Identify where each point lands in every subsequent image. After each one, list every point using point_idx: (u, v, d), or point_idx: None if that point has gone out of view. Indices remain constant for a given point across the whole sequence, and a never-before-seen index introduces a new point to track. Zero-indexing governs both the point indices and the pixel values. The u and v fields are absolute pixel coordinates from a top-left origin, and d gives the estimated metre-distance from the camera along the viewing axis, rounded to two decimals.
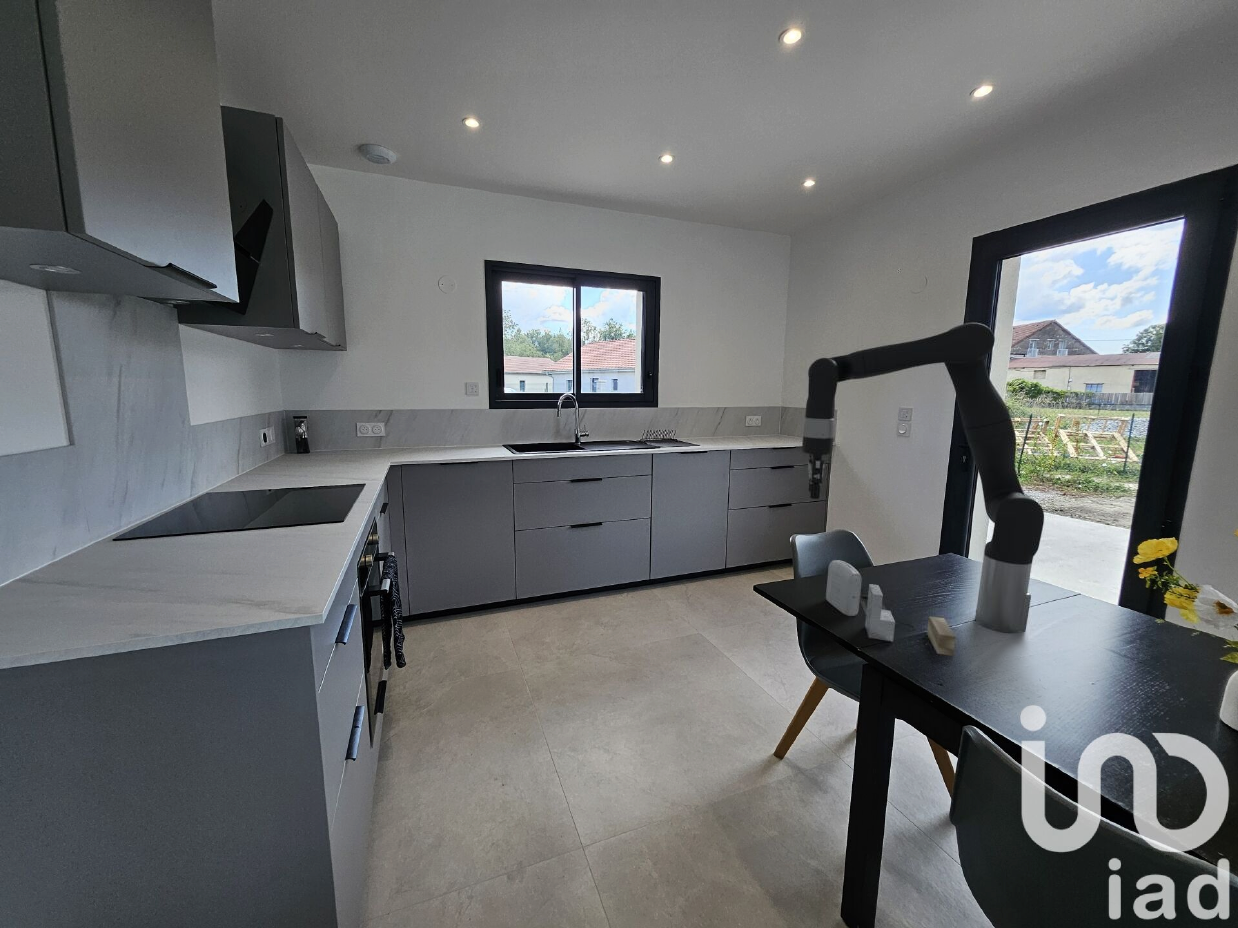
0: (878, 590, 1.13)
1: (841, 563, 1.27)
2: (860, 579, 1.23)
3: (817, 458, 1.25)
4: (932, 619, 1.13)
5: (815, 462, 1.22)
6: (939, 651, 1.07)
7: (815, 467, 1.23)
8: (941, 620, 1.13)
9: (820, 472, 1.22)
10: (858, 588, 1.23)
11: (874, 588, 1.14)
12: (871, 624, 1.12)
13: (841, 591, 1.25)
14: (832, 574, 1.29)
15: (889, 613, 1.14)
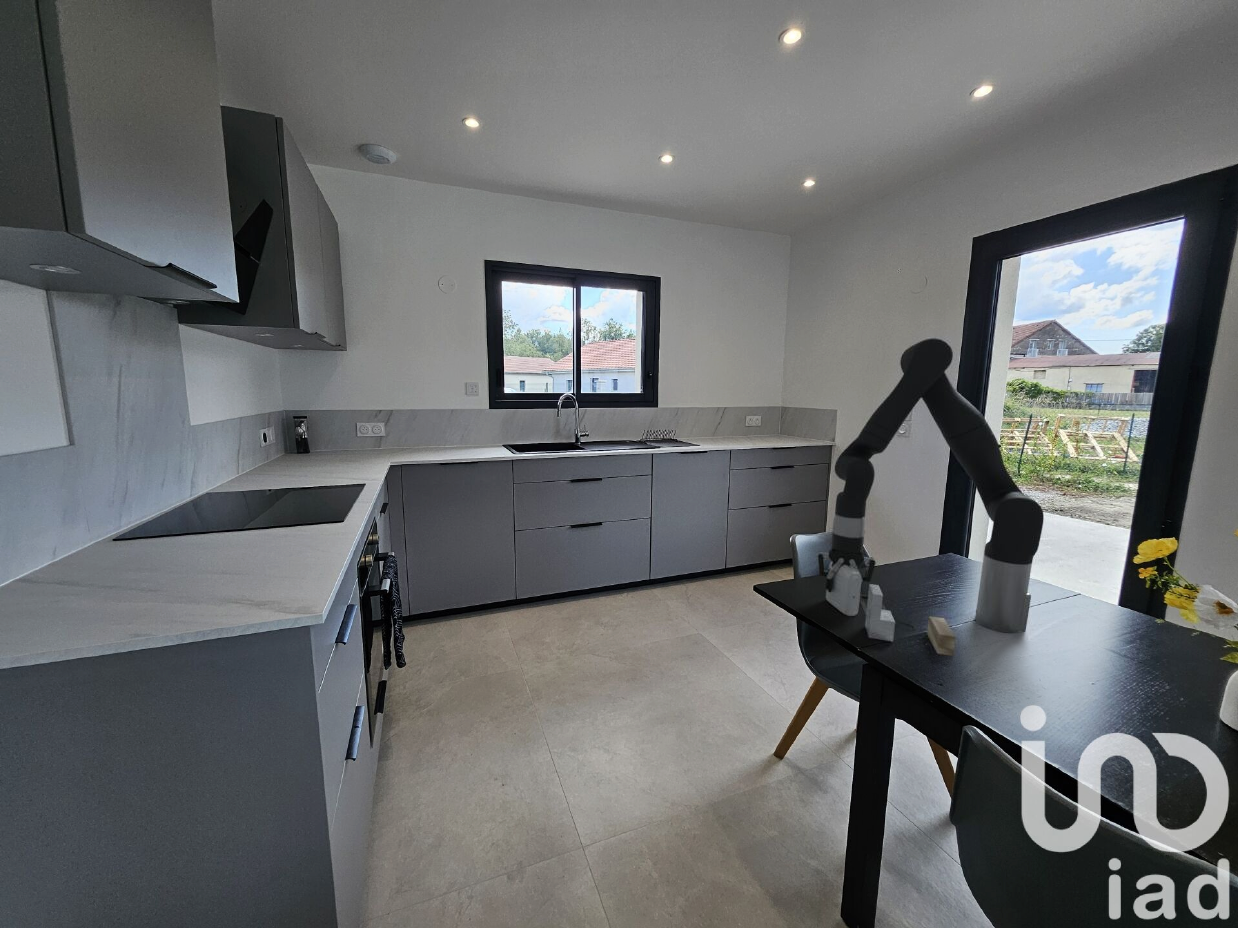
0: (878, 590, 1.13)
1: None
2: (860, 579, 1.23)
3: None
4: (932, 619, 1.13)
5: (875, 562, 1.24)
6: (939, 651, 1.07)
7: None
8: (941, 620, 1.13)
9: None
10: (858, 588, 1.23)
11: (874, 588, 1.14)
12: (871, 624, 1.12)
13: (841, 590, 1.25)
14: None
15: (889, 613, 1.14)
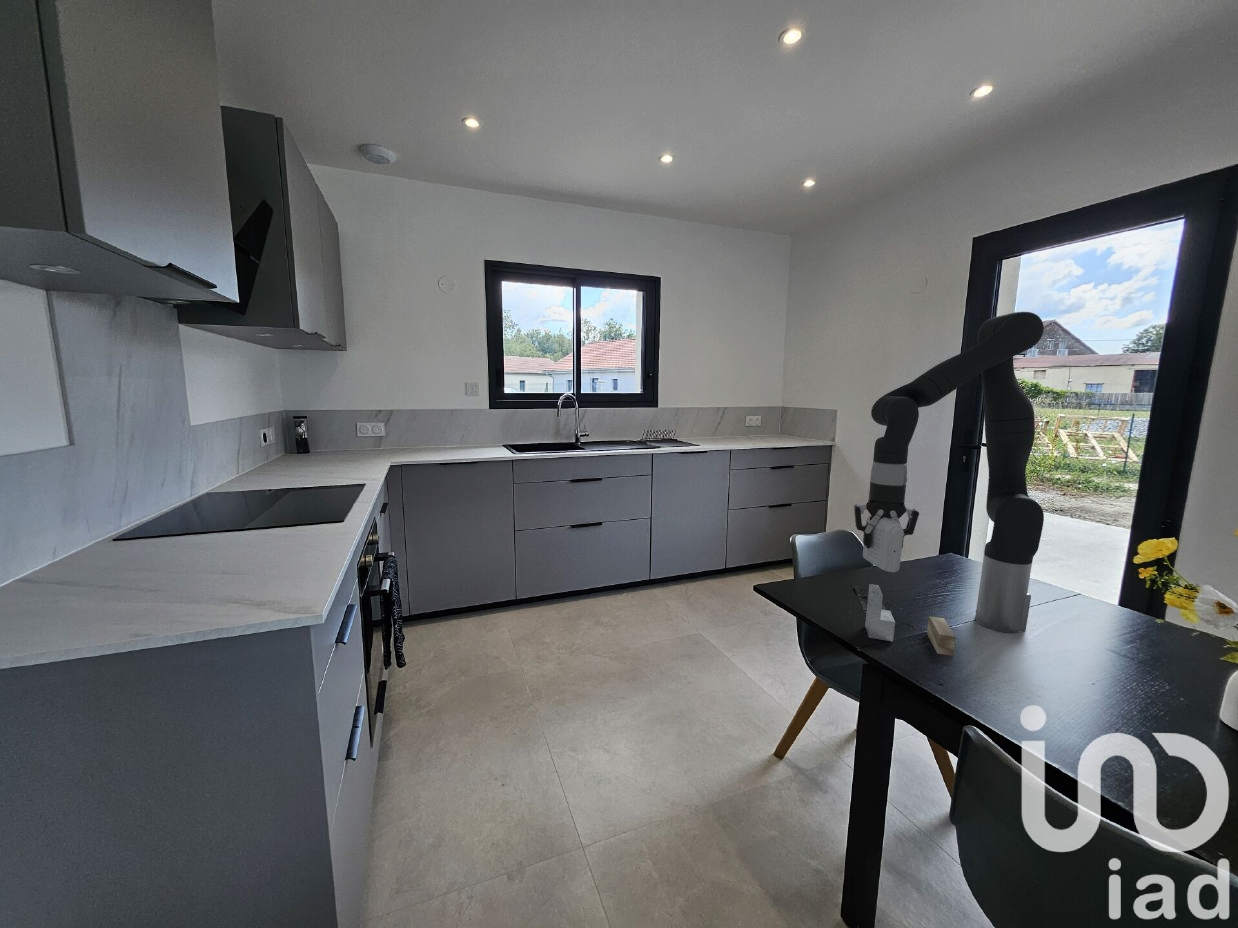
0: (878, 590, 1.13)
1: None
2: (902, 531, 1.12)
3: None
4: (932, 619, 1.13)
5: None
6: (939, 651, 1.07)
7: None
8: (941, 620, 1.13)
9: None
10: (899, 541, 1.12)
11: (874, 588, 1.14)
12: (871, 624, 1.12)
13: (880, 545, 1.15)
14: None
15: (889, 613, 1.14)
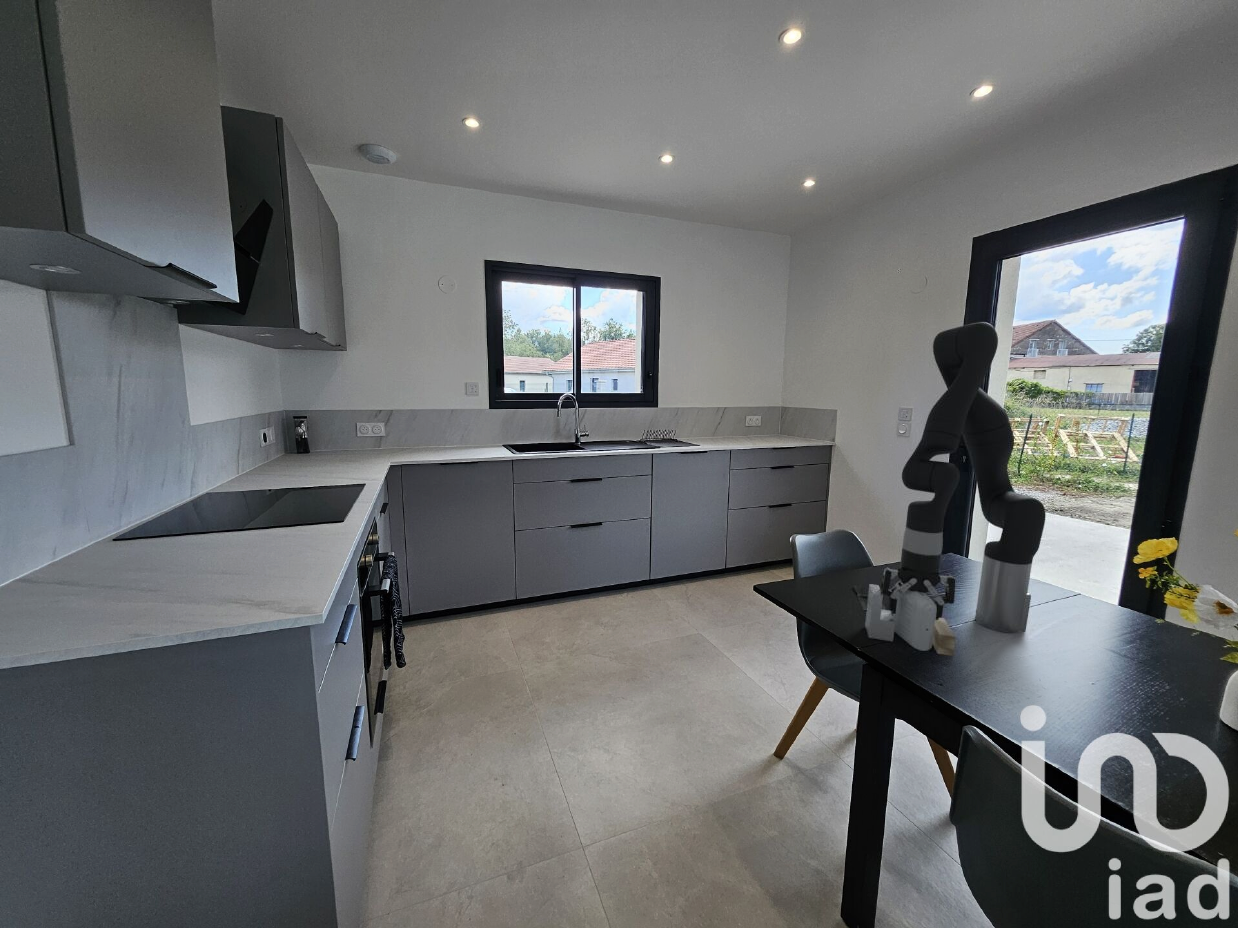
0: (878, 590, 1.13)
1: None
2: (935, 609, 1.06)
3: None
4: None
5: None
6: (939, 651, 1.07)
7: None
8: (941, 620, 1.13)
9: None
10: (932, 619, 1.07)
11: (874, 588, 1.14)
12: (871, 624, 1.12)
13: (911, 621, 1.09)
14: (900, 601, 1.13)
15: (889, 613, 1.14)
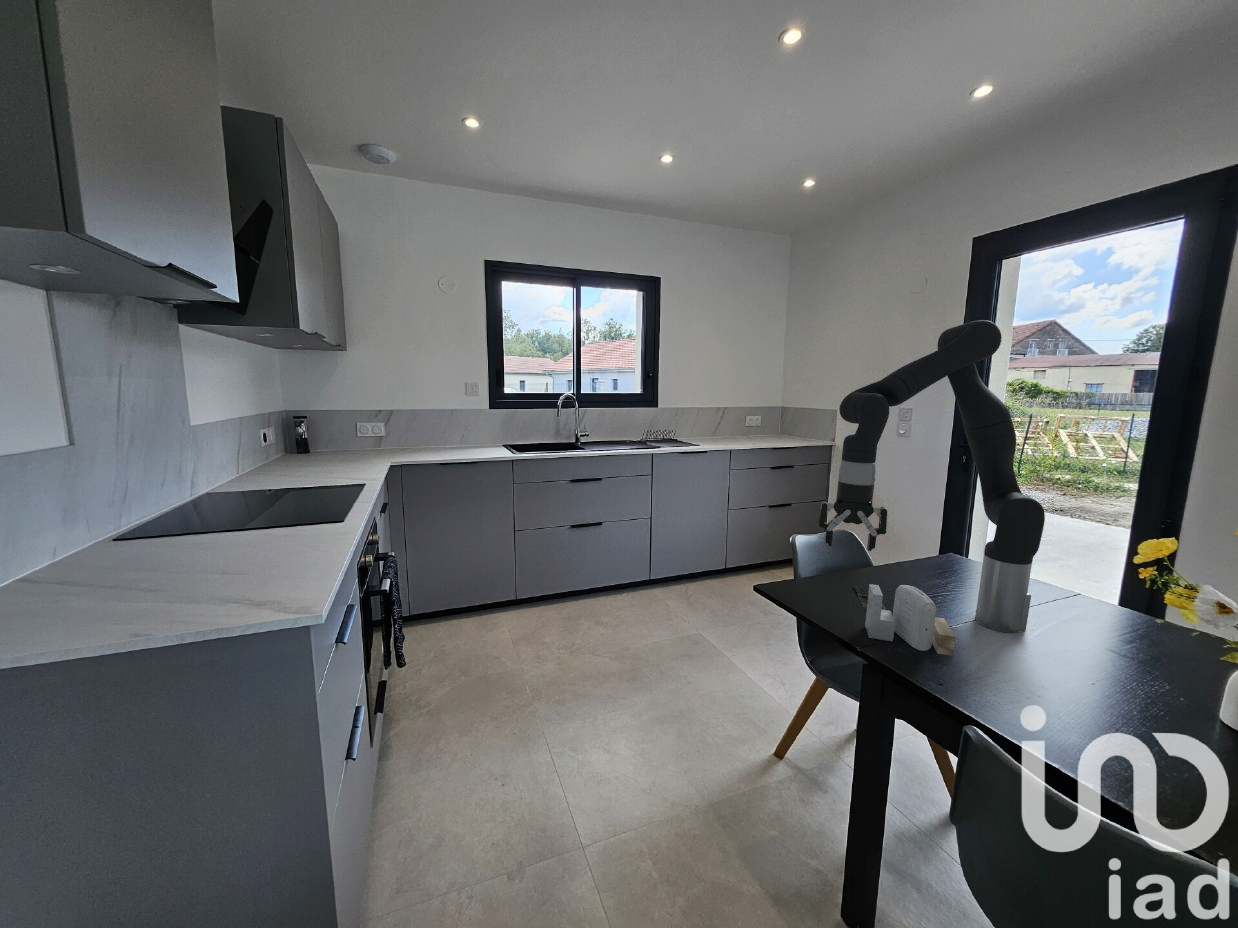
0: (878, 590, 1.13)
1: (911, 589, 1.11)
2: (934, 609, 1.06)
3: None
4: None
5: (886, 510, 1.09)
6: (939, 651, 1.07)
7: None
8: (941, 620, 1.13)
9: None
10: (932, 619, 1.07)
11: (874, 588, 1.14)
12: (871, 624, 1.12)
13: (911, 621, 1.09)
14: (900, 601, 1.13)
15: (889, 613, 1.14)
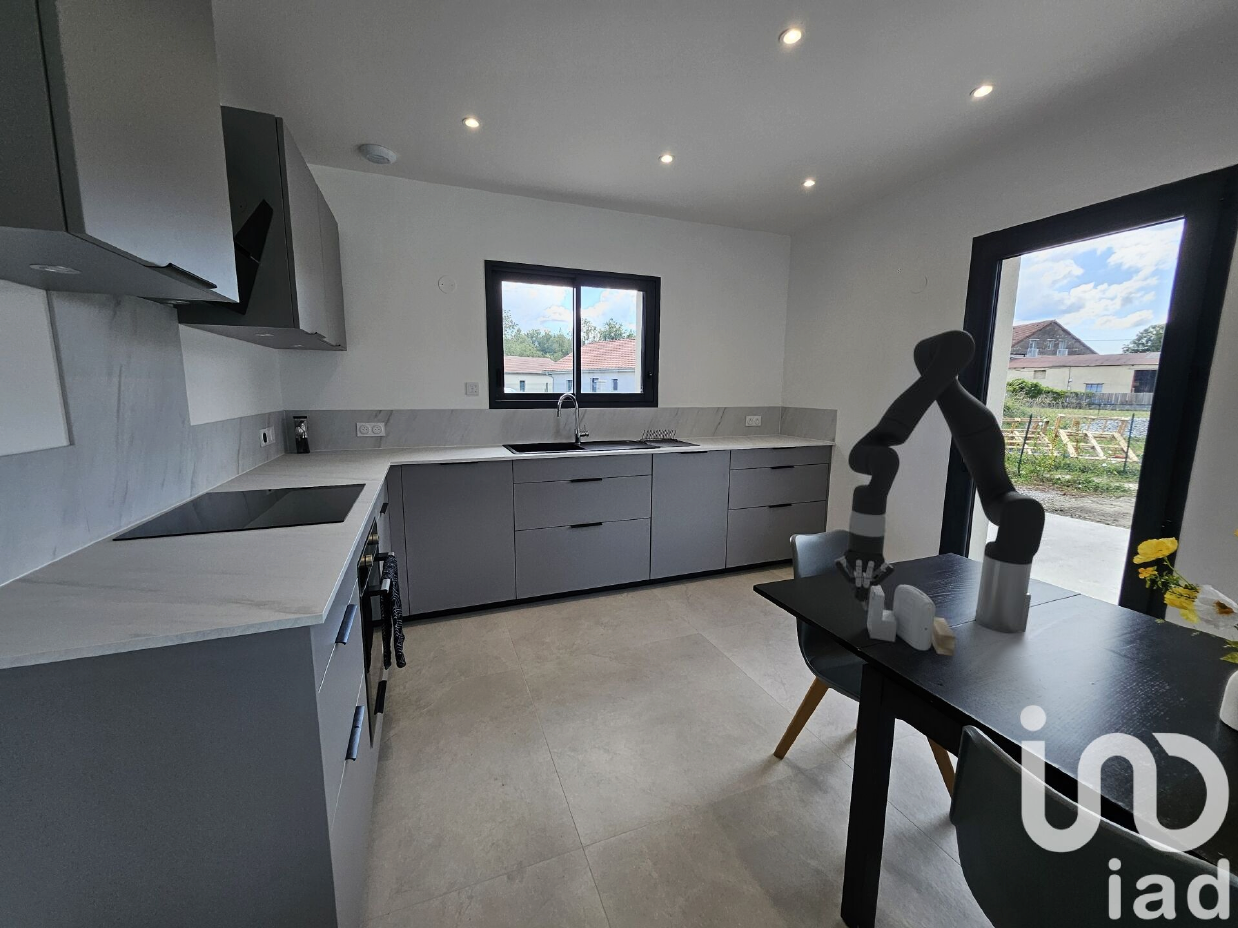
0: (880, 590, 1.13)
1: (910, 589, 1.11)
2: (934, 608, 1.07)
3: None
4: None
5: None
6: (939, 651, 1.07)
7: None
8: (941, 620, 1.13)
9: None
10: (931, 619, 1.07)
11: (876, 588, 1.14)
12: (873, 624, 1.12)
13: (910, 620, 1.09)
14: (899, 601, 1.13)
15: (891, 613, 1.14)
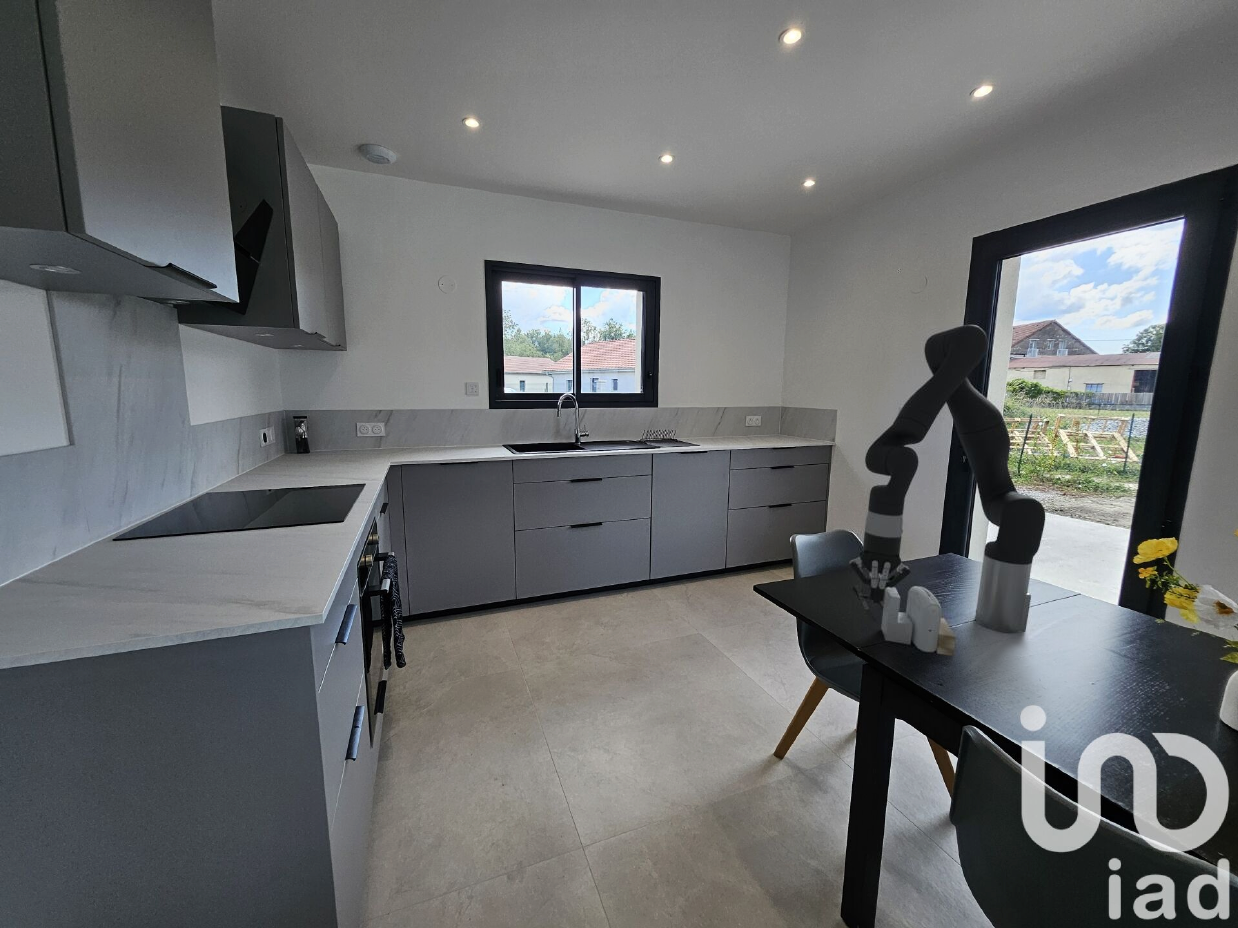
0: (895, 592, 1.12)
1: (920, 590, 1.10)
2: (940, 611, 1.06)
3: None
4: None
5: None
6: (939, 651, 1.07)
7: None
8: (941, 620, 1.13)
9: None
10: (936, 621, 1.06)
11: (891, 590, 1.13)
12: (888, 627, 1.11)
13: (916, 621, 1.09)
14: (910, 601, 1.13)
15: (906, 616, 1.13)
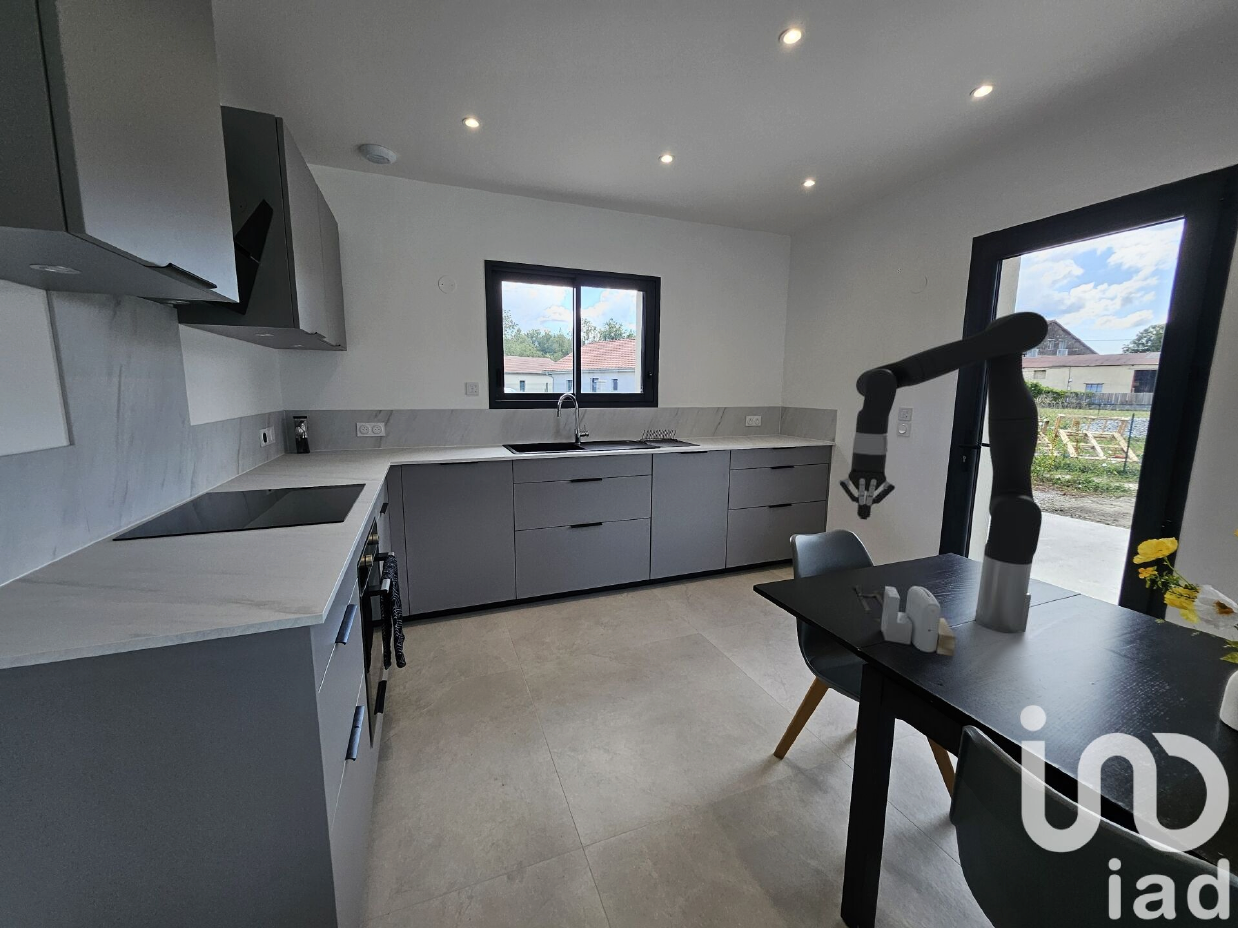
0: (895, 592, 1.12)
1: (920, 590, 1.11)
2: (939, 611, 1.06)
3: None
4: None
5: None
6: (939, 651, 1.07)
7: None
8: (941, 620, 1.13)
9: None
10: (936, 621, 1.06)
11: (891, 590, 1.13)
12: (888, 627, 1.11)
13: (915, 621, 1.09)
14: (909, 601, 1.13)
15: (906, 615, 1.13)
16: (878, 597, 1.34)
